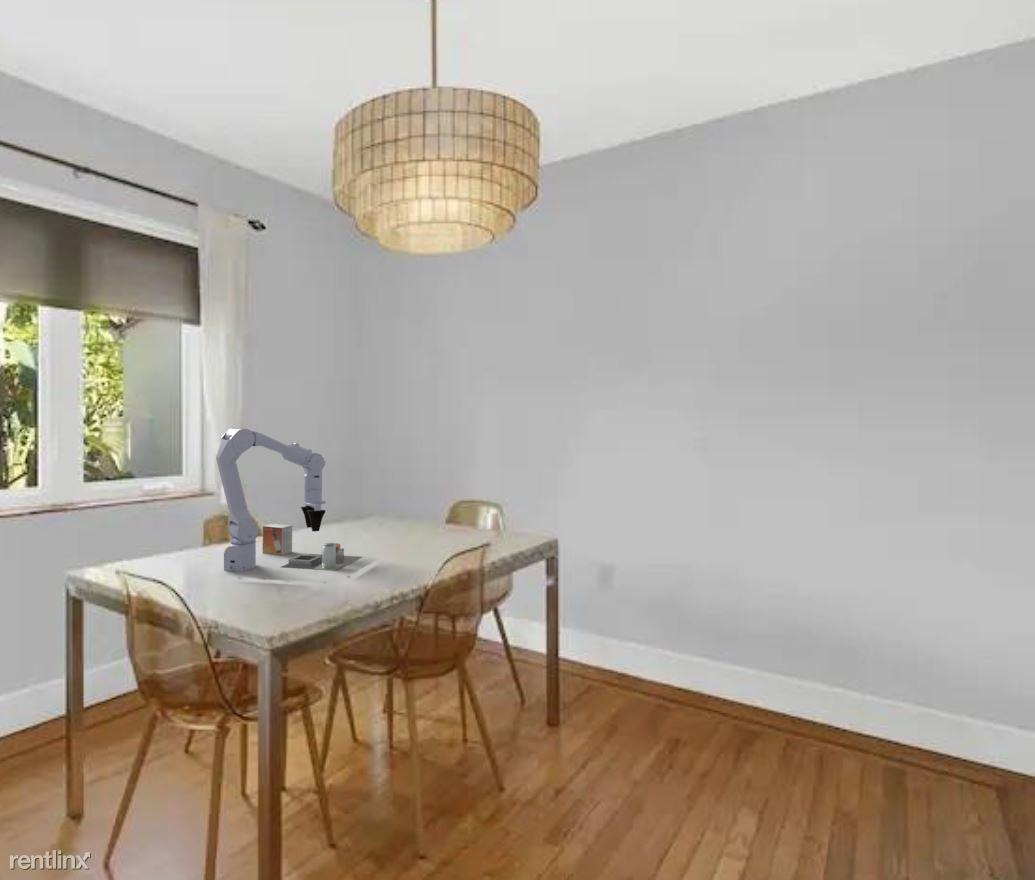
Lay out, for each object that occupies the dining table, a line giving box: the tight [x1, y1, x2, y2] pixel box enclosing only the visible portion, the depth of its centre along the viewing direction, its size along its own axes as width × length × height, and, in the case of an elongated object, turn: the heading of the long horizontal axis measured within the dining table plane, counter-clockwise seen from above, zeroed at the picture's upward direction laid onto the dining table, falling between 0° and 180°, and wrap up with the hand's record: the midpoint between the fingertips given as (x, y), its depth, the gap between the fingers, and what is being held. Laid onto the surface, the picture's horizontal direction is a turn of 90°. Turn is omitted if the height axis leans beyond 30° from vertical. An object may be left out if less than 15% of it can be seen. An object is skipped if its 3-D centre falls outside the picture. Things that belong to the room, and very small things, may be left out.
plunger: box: [333, 542, 341, 551], centre depth 211 cm, size 4×4×4 cm
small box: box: [262, 523, 293, 556], centre depth 220 cm, size 8×6×10 cm
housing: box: [280, 547, 363, 572], centre depth 207 cm, size 19×19×4 cm
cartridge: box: [321, 542, 336, 568], centre depth 201 cm, size 4×4×7 cm
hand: (313, 529), depth 215 cm, fingers open, 7 cm apart
